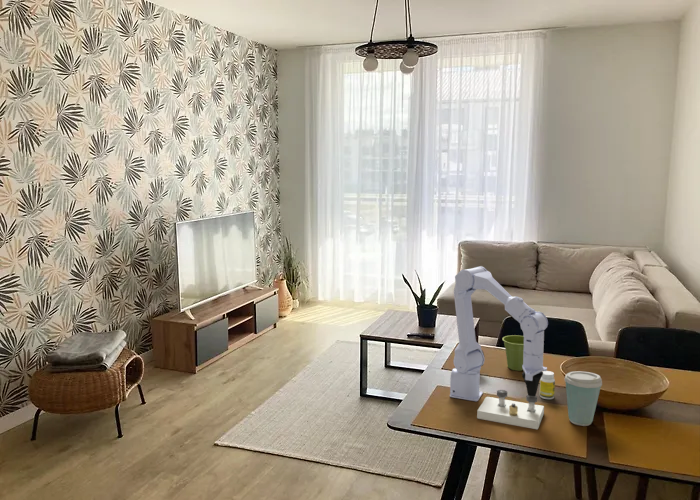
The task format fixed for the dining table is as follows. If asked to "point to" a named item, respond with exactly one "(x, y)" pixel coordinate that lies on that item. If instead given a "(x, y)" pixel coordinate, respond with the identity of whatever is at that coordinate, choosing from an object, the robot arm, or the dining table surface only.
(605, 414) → the dining table surface
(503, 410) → the mount block
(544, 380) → the supplement bottle
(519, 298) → the robot arm
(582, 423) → the disposable coffee cup
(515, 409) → the gold domed cylinder
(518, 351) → the plant pot
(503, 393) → the knob
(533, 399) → the knob
